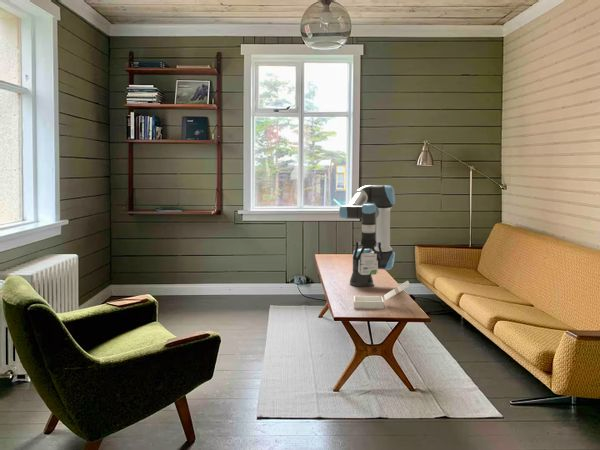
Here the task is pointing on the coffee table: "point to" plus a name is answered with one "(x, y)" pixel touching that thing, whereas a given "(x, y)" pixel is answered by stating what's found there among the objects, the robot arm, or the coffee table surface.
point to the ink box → (368, 263)
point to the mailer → (368, 302)
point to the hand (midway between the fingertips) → (367, 272)
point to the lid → (396, 290)
